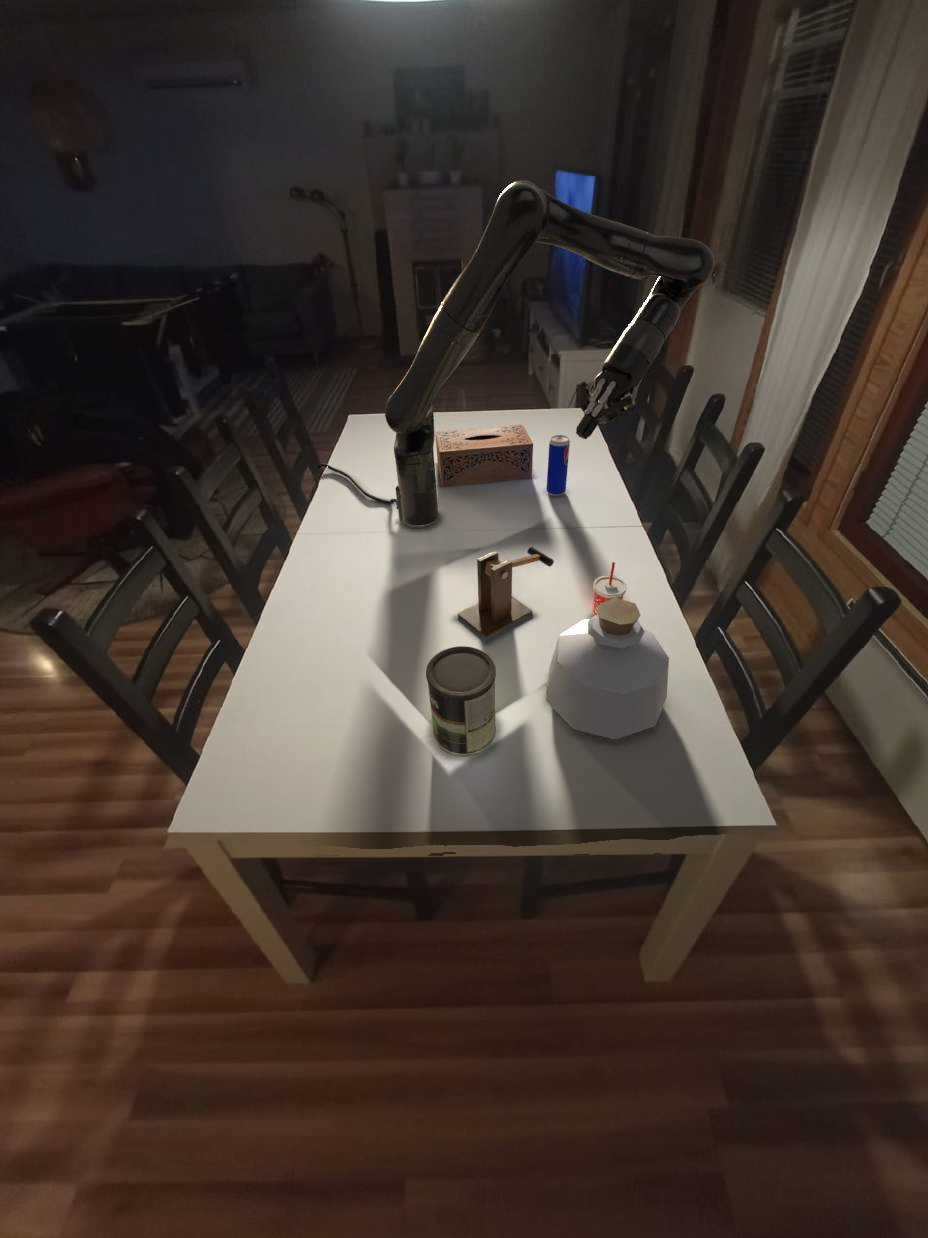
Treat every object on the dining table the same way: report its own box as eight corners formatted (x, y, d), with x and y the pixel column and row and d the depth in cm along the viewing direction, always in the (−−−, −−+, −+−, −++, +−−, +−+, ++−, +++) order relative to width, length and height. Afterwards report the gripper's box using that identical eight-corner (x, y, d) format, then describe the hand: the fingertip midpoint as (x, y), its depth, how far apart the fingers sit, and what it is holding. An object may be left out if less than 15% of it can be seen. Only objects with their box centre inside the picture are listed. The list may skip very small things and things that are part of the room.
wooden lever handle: (531, 554, 114) (534, 544, 113) (552, 567, 110) (554, 556, 109) (478, 568, 106) (479, 557, 105) (498, 582, 102) (500, 571, 101)
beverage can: (564, 497, 149) (569, 442, 140) (545, 495, 150) (548, 442, 141) (566, 488, 153) (570, 434, 144) (547, 487, 154) (550, 434, 144)
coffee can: (434, 760, 86) (426, 699, 77) (431, 709, 94) (424, 648, 85) (500, 754, 87) (500, 692, 78) (492, 704, 95) (491, 642, 86)
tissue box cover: (521, 456, 170) (522, 424, 164) (531, 477, 159) (533, 443, 153) (437, 464, 168) (435, 431, 162) (441, 485, 157) (439, 451, 151)
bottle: (671, 751, 86) (699, 664, 74) (542, 737, 89) (549, 650, 77) (659, 661, 101) (681, 576, 89) (550, 651, 104) (556, 568, 92)
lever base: (503, 595, 118) (503, 539, 109) (532, 616, 112) (535, 558, 103) (457, 618, 112) (454, 561, 104) (485, 641, 107) (484, 583, 98)
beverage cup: (601, 635, 107) (611, 576, 98) (582, 618, 111) (589, 559, 102) (626, 625, 109) (638, 566, 100) (606, 608, 113) (616, 549, 104)
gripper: (598, 334, 104) (546, 416, 107) (656, 347, 96) (598, 436, 99) (614, 358, 110) (564, 436, 113) (669, 373, 102) (615, 456, 104)
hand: (580, 436), depth 106 cm, fingers closed
